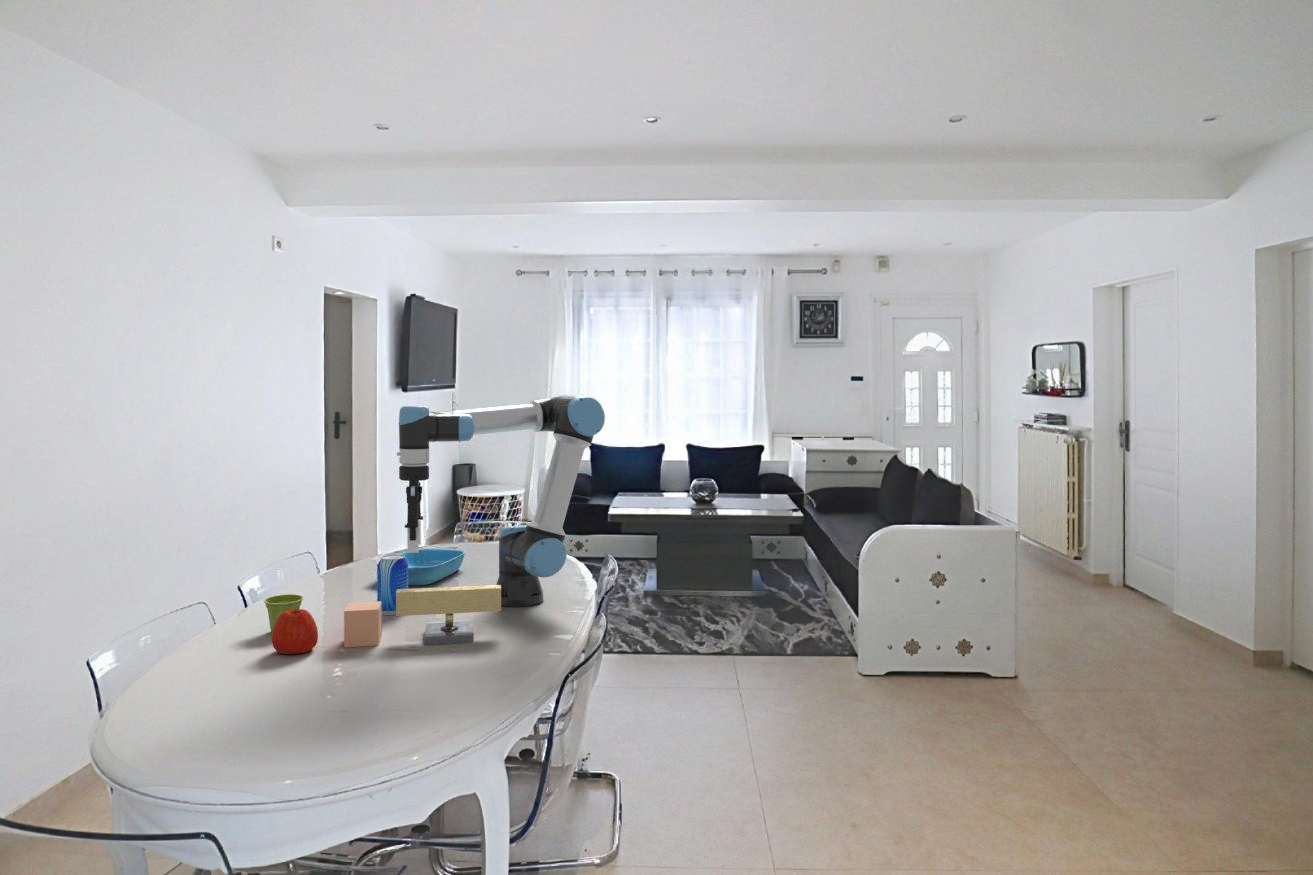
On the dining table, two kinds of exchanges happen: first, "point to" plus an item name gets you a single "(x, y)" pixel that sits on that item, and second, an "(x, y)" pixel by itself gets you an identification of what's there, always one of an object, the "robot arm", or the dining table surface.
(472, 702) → the dining table surface
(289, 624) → the apple
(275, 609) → the plant pot
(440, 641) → the grey square base plate
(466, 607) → the yellow t-shaped bar
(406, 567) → the beer can
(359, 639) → the peach tan cube
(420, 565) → the casserole dish
